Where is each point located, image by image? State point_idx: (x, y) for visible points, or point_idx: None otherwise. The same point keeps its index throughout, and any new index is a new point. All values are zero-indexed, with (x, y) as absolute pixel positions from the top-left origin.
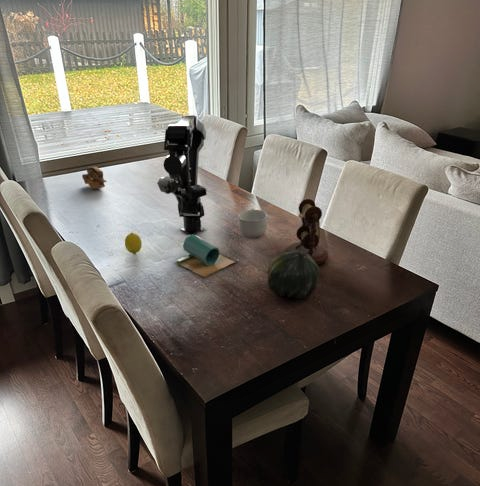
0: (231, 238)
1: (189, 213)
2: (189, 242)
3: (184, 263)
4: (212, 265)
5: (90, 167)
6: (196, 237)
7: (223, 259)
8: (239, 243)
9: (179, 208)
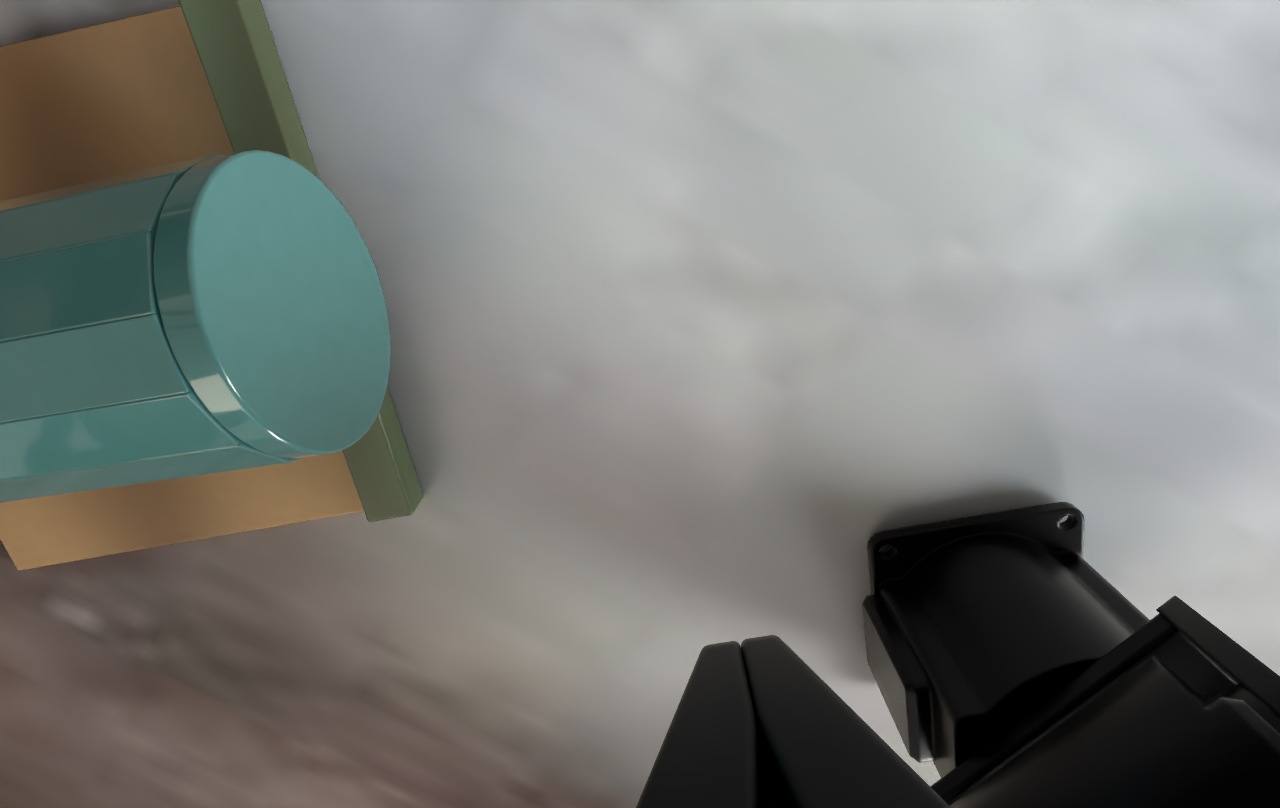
0: (543, 788)
1: (1030, 747)
2: (89, 223)
3: (181, 70)
4: None
5: None
6: (94, 389)
7: (110, 507)
8: (404, 788)
9: (1235, 702)
